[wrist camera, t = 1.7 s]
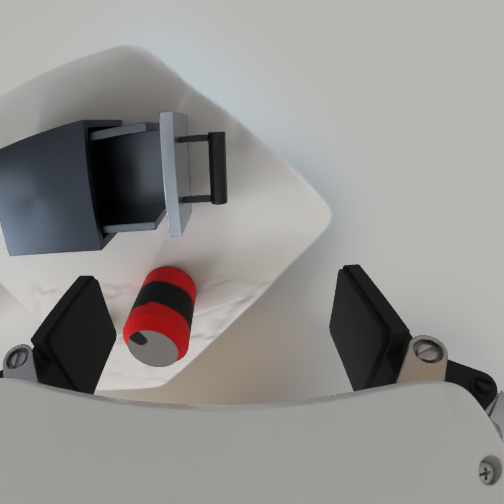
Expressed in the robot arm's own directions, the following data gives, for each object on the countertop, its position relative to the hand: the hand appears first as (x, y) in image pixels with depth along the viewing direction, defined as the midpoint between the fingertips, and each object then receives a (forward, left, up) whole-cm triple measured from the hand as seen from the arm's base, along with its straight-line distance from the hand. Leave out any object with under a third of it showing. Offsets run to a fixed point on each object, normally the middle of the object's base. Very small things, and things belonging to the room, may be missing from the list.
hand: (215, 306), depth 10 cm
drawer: (-9, +3, -23) cm, 25 cm away
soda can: (-8, -14, -24) cm, 29 cm away
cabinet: (-19, +3, -24) cm, 31 cm away
